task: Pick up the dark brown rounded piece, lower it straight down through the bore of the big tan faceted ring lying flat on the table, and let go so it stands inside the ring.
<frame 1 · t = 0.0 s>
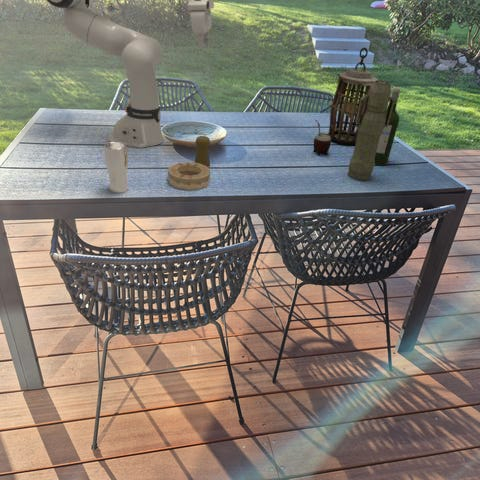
hand: (203, 45, 158), 39 cm above the table, tool pointing down, fingers open, 8 cm apart
tan faceted ring: (189, 180, 151), on the table
beer glass: (119, 189, 142), on the table
thermos: (358, 176, 166), on the table
mate gourd: (319, 153, 183), on the table
wine bottle: (377, 162, 180), on the table
lantern: (344, 140, 200), on the table
dark brown rounded piece: (202, 165, 163), on the table
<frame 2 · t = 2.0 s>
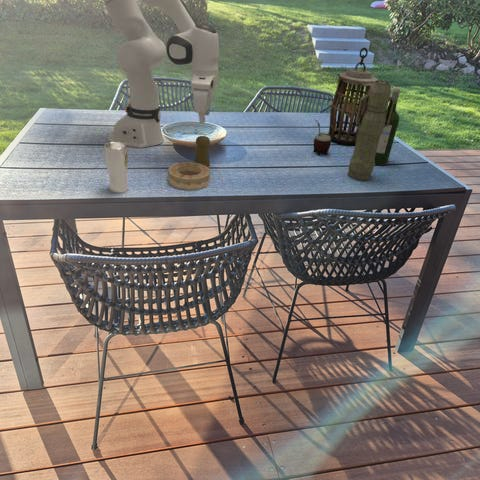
hand: (204, 118, 153), 18 cm above the table, tool pointing down, fingers open, 8 cm apart
nothing on the table moved.
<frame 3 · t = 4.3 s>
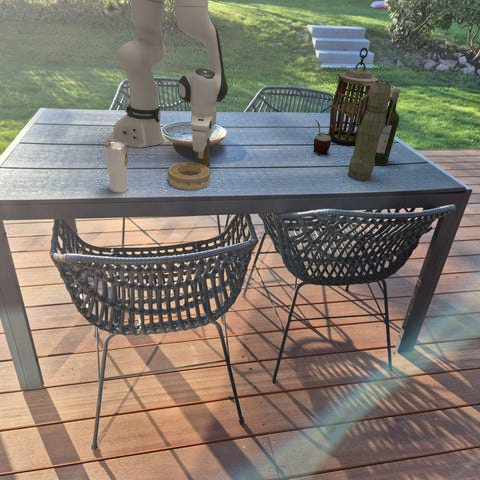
hand: (202, 154, 161), 4 cm above the table, tool pointing down, fingers closed on dark brown rounded piece, 5 cm apart
dark brown rounded piece: (202, 165, 163), on the table, touching gripper
everything else where it was.
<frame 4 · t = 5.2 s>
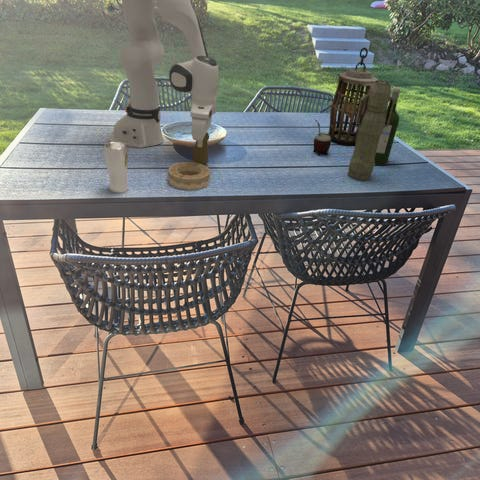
hand: (201, 143, 159), 8 cm above the table, tool pointing down, fingers closed on dark brown rounded piece, 4 cm apart
dark brown rounded piece: (200, 160, 163), point 2 cm above the table, touching gripper
everything else where it was.
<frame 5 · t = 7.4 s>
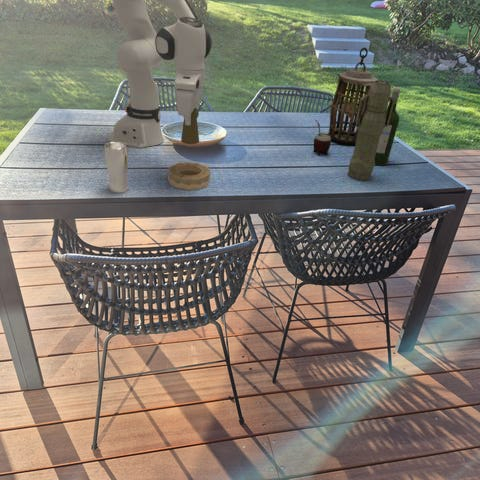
hand: (189, 121, 139), 21 cm above the table, tool pointing down, fingers closed on dark brown rounded piece, 4 cm apart
dark brown rounded piece: (190, 141, 143), point 14 cm above the table, touching gripper
everything else where it was.
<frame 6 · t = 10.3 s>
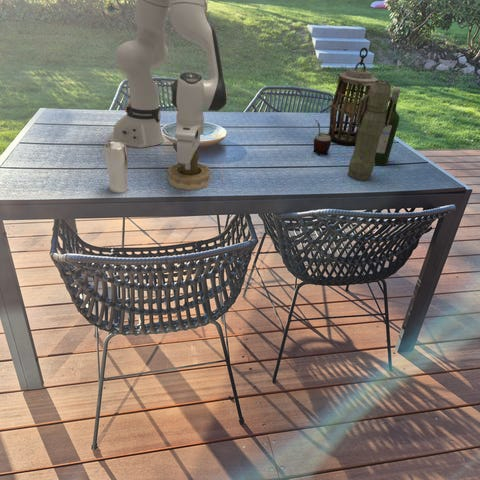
hand: (189, 165, 148), 6 cm above the table, tool pointing down, fingers closed on dark brown rounded piece, 4 cm apart
dark brown rounded piece: (190, 181, 151), resting in tan faceted ring, touching gripper
everything else where it was.
when the fingers open (6 cm above the table, at t = 10.6 s): dark brown rounded piece stays where it is, resting in tan faceted ring.
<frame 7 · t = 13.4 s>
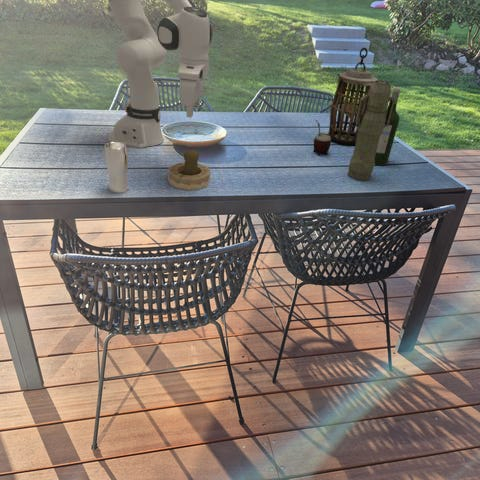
hand: (192, 112, 140), 24 cm above the table, tool pointing down, fingers open, 8 cm apart
dark brown rounded piece: (190, 181, 151), resting in tan faceted ring
everything else where it was.
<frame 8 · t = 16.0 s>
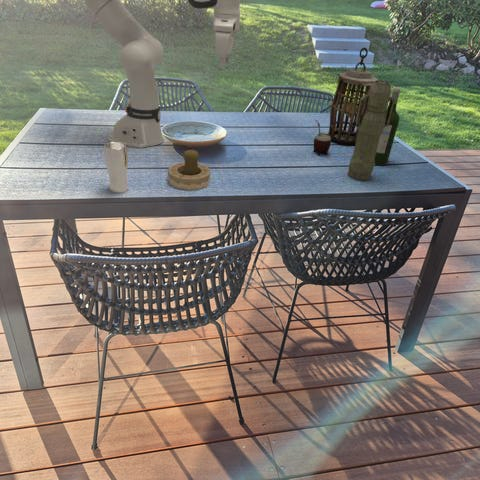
hand: (224, 65, 154), 34 cm above the table, tool pointing down, fingers open, 8 cm apart
nothing on the table moved.
at the end: dark brown rounded piece 0.6 cm from the tan faceted ring (horizontally); dark brown rounded piece tilted 0°; the gripper is holding nothing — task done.
